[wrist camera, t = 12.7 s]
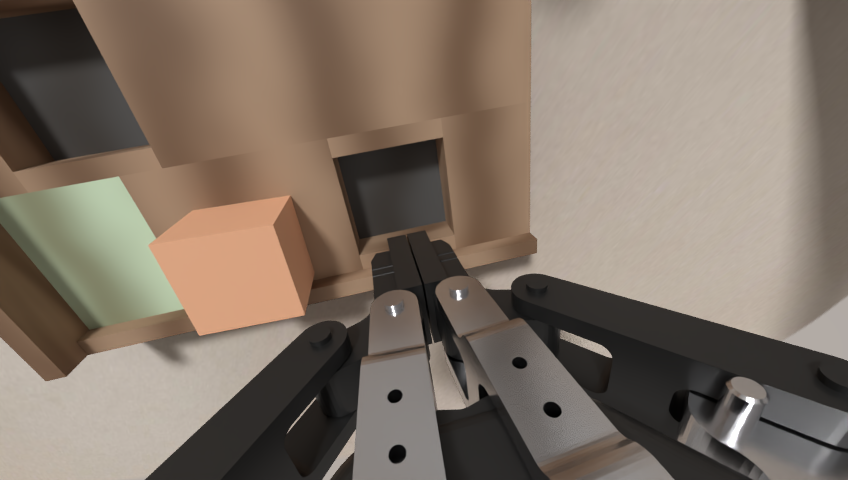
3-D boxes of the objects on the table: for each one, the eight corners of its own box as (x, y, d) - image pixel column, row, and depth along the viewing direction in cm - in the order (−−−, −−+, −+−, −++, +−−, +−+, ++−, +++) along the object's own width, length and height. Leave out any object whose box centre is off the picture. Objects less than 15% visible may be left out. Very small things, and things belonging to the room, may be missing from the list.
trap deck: (507, -103, 15) (566, -176, 11) (513, 230, 24) (548, 264, 19) (-157, -24, 13) (-423, -77, 9) (110, 318, 21) (45, 381, 17)
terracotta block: (290, 195, 17) (273, 224, 14) (314, 272, 20) (304, 315, 16) (192, 210, 17) (147, 245, 13) (228, 288, 19) (199, 335, 16)
